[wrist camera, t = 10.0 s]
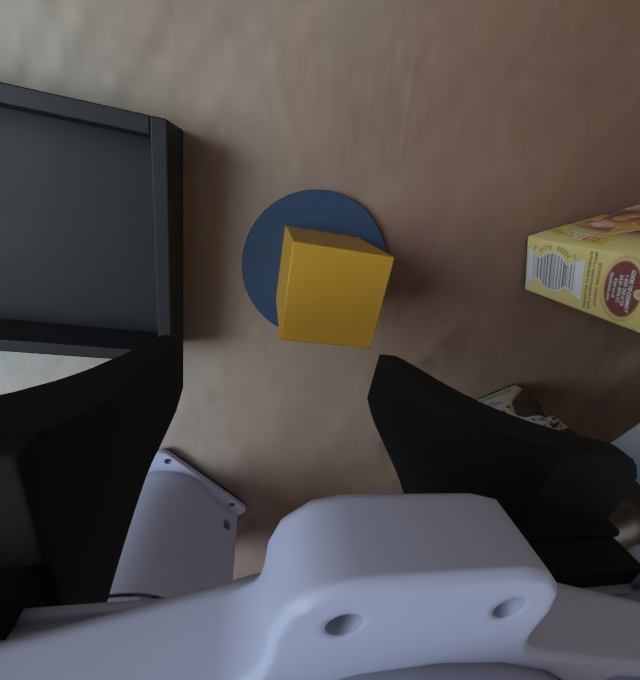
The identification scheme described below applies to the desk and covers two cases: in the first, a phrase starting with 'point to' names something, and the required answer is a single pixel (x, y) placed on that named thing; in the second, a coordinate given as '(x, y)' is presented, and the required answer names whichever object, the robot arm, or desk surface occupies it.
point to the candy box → (590, 266)
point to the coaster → (301, 212)
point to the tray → (87, 226)
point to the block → (330, 288)
